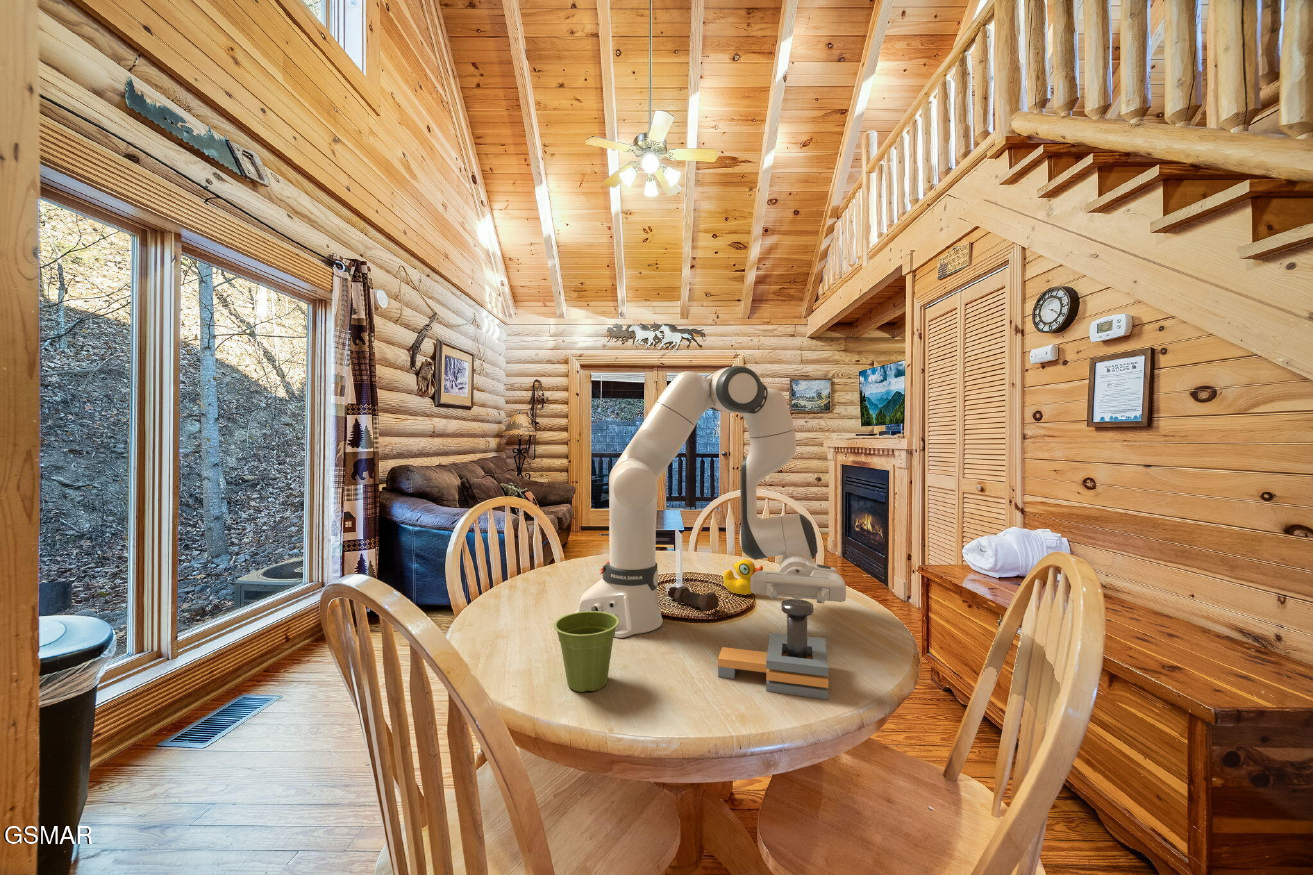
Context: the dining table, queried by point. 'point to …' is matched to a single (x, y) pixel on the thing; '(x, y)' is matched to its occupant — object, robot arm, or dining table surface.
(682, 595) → the bolt
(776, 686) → the bracket
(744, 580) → the duckling
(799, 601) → the pin
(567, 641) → the plant pot
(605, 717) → the dining table surface
